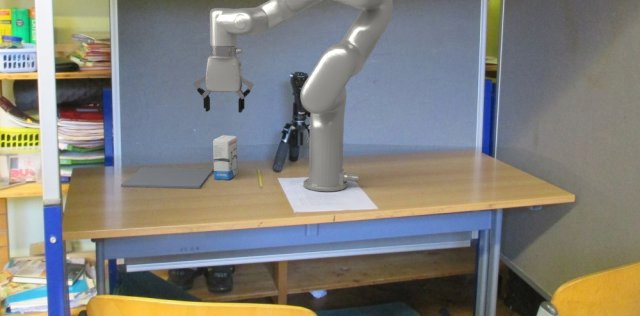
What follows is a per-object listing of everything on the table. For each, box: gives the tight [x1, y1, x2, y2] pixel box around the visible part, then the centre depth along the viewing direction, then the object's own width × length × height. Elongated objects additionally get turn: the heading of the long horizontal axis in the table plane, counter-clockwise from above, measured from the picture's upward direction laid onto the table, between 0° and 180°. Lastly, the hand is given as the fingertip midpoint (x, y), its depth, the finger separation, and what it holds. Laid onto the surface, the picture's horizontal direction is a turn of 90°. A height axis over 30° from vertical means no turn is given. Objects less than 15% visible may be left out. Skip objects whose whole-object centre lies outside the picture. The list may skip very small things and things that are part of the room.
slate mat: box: [120, 166, 214, 190], centre depth 192 cm, size 22×20×1 cm
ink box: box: [212, 134, 239, 181], centre depth 194 cm, size 9×5×12 cm, turn 168°
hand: (224, 111), depth 191 cm, fingers open, 9 cm apart
